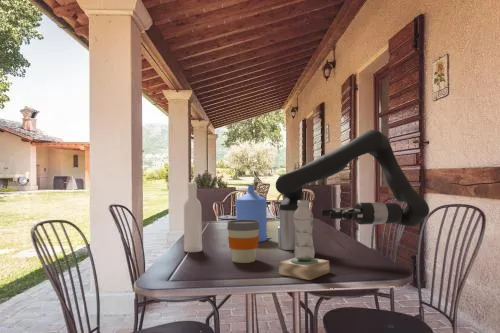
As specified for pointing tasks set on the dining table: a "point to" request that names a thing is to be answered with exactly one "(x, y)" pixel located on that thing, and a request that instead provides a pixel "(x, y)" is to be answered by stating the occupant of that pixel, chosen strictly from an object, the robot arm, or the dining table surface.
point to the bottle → (192, 221)
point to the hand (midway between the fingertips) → (325, 213)
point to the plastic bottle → (303, 231)
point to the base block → (304, 268)
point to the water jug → (253, 211)
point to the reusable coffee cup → (243, 240)
